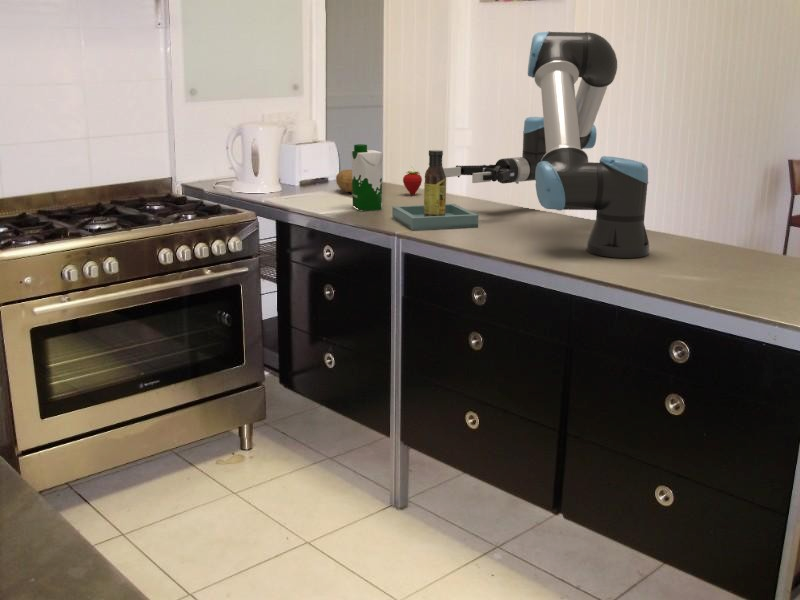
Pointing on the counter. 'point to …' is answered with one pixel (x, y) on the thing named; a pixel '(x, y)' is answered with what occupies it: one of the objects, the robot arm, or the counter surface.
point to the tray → (434, 218)
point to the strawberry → (412, 181)
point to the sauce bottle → (435, 186)
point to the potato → (345, 180)
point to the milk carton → (366, 178)
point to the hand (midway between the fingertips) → (457, 175)
